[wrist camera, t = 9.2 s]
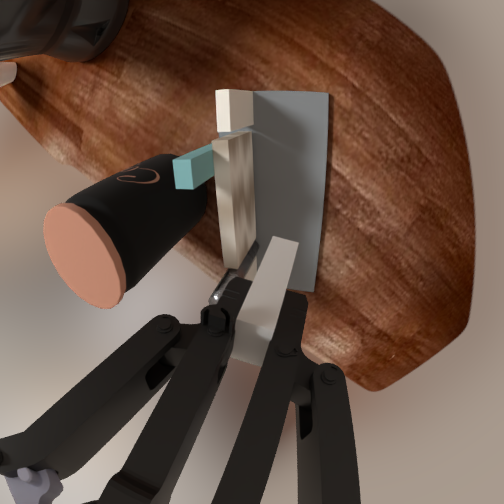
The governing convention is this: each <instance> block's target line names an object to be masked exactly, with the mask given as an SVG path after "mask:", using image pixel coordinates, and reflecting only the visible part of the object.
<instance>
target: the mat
mask: <svg viewBox="0 0 504 504" xmlns="http://www.w3.org/2000/svg"><path fill="white" fill-rule="evenodd" d="M328 99H329V93H322V92H304V91H253V120H254V125H250V126H247V127H244V128H241V129H237V130H234V131H231V132H219V138H220V137H223V136H226V135H229V134H232V133H235V132H238V131H252V149H253V172H254V195H255V219H256V239H255V241H257V242H258V244H259V250H258V252H257V254H256V256H257V271H258V269H259V267H260V264H261V262H262V260H263V258H264V255H265V253H266V251H267V249H268V246H269V244H270V242H271V239H272V237H273V236H276V237H279V238H283V239H287V240H291V241H294V242H298V243H299V244H298V248H297V252H296V255H295V259H294V263H293V267H292V270H291V274H290V278H289V281H288V285H287V289H293V290H300V291H307V292H314V286H315V279H316V271H317V263H318V254H319V246H320V236H321V226H322V216H323V204H324V192H325V178H326V161H327V140H328Z"/></svg>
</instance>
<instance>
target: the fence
mask: <svg viewBox="0 0 504 504" xmlns="http://www.w3.org/2000/svg"><path fill="white" fill-rule="evenodd" d="M216 112H217V132H231V131H234V130H237V129H241V128H244V127H247V126H250V125H254V120H253V91H245V90H234V89H224V90H216ZM256 274H257V256H255V258H254V260H253V261H252V263H251V265H250V267H249V269H248V271H247V273H246V275H245V277H244V279H247V280H251V281H253V280H254V278H255V276H256Z"/></svg>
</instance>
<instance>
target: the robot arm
mask: <svg viewBox="0 0 504 504" xmlns="http://www.w3.org/2000/svg"><path fill="white" fill-rule="evenodd" d="M128 2H129V0H0V61H4V60H8V59H13V58H19V57H25V56H31V55H38V54H45V55H49V56H52V57H55V58H58V59H61V60H64V61H67V62H85V61H88V60H91V59H93V58H95V57H96V56H98V55H99V54H100V53H101V52H103V51H104V50H105V49H106V48H107V47H108V45H109V44H110V43H111V42H112V40H113V39H114V38H115V36H116V35H117V33H118V31H119V29H120V27H121V25H122V23H123V21H124V18H125V16H126V12H127V8H128ZM298 244H299V243H298V242H294V241H291V240H287V239H283V238H279V237H276V236H273V237H272V239H271V242H270V244H269V246H268V249H267V251H266V253H265V255H264V258H263V260H262V262H261V264H260V267H259V269H258V271H257V274H256V276H255V278H254V280H253V281H251V280H247V279H244V278H240V277H237V276H236V277H235V278H233V279H232V280H230V281H229V282H228V284H227V286H226V288H225V290H224V291H223V293H222V296H221V297H220V299H219V300H218V302H217V304H213V305H209V306H206V307H204V308H203V309H202V311H201V323H199V324H180V323H179V321H178V320H177V319H176V318H175V317H174V316H171V315H167V314H162V315H158V316H156V317H154V318H153V319H152V320H150V321H149V322H148V323H147V324H146V325H145V326H143V327H142V328H141V329H140V330H139V331H138V332H136V333H135V334H134V335H133V336H132V337H131V338H129V339H128V340H127V341H126V342H125V343H124V344H122V345H121V346H120V347H119V348H118V349H117V350H115V352H113V353H112V354H111V355H110V356H109V357H108V358H107V359H105V360H104V361H103V362H102V363H101V364H99V365H98V366H97V367H96V368H95V369H94V370H93V371H91V372H90V373H89V374H88V375H87V376H86V377H85V378H84V379H82V380H81V381H80V382H79V383H78V384H77V385H75V386H74V387H73V388H72V389H71V390H70V391H69V392H68V393H66V394H65V395H64V396H63V397H62V398H61V399H60V400H59V401H57V402H56V403H55V404H54V405H53V406H52V407H51V408H50V409H49V410H47V411H46V412H45V413H44V414H43V415H42V416H41V417H40V418H38V419H37V420H36V421H35V422H34V423H33V424H32V425H31V426H30V427H28V428H27V429H26V430H25V431H24V432H21V433H18V434H15V435H12V436H8V437H5V438H1V439H0V474H1V475H4V476H5V479H6V481H7V484H8V486H9V489H10V491H11V494H12V496H13V498H14V500H15V503H16V504H52V501H53V500H54V499H55V498H56V497H57V496H59V495H60V493H61V492H62V491H63V485H62V483H61V482H60V480H62V479H65V478H67V477H69V476H71V475H72V474H74V473H75V472H77V471H78V470H79V469H80V468H82V467H83V466H84V465H85V464H86V463H87V462H88V461H89V460H90V459H91V458H92V457H93V456H94V455H95V454H96V453H97V452H98V451H99V450H100V449H101V448H102V447H103V446H104V445H105V444H106V443H107V442H108V441H110V439H111V438H112V437H113V436H115V434H116V433H117V432H118V431H120V430H121V429H122V427H124V425H126V423H128V422H129V421H130V420H131V419H132V418H133V416H134V415H135V414H136V413H137V412H138V411H139V410H140V409H141V408H142V407H143V406H144V405H145V404H146V403H147V402H148V401H149V400H150V399H151V398H152V397H153V396H154V395H155V394H156V393H157V392H158V391H159V390H160V389H161V388H162V387H163V386H164V385H165V384H166V382H168V380H169V379H170V378H171V379H170V381H169V383H168V385H167V386H166V389H165V390H164V392H163V394H162V396H161V397H160V399H159V401H158V403H157V405H156V407H155V409H154V410H153V412H152V414H151V416H150V418H149V419H148V421H147V423H146V425H145V427H144V429H143V430H142V433H141V434H140V436H139V438H138V440H137V442H136V443H135V445H134V447H133V449H132V451H131V453H130V455H129V456H128V459H127V460H126V462H125V464H124V466H123V467H122V469H121V470H120V471H119V472H118V473H117V474H115V475H113V476H112V478H111V479H110V480H109V482H108V483H107V485H106V487H105V489H104V491H103V493H102V494H101V496H100V498H99V500H94V501H90V502H87V503H83V504H169V502H170V498H171V494H172V492H173V489H174V487H175V485H176V483H177V480H178V479H179V476H180V474H181V472H182V470H183V467H184V465H185V463H186V461H187V459H188V456H189V454H190V452H191V450H192V447H193V445H194V443H195V440H196V438H197V436H198V434H199V432H200V429H201V427H202V424H203V422H204V420H205V418H206V415H207V413H208V411H209V408H210V406H211V404H212V401H213V399H214V396H215V394H216V392H217V390H218V387H219V385H220V383H221V380H222V378H223V376H224V373H225V371H226V368H227V364H228V359H229V357H230V355H231V357H232V358H235V359H238V360H241V361H244V362H247V363H251V364H254V365H257V366H261V370H260V373H259V376H258V379H257V382H256V385H255V388H254V391H253V394H252V397H251V400H250V403H249V405H248V408H247V411H246V414H245V417H244V420H243V422H242V425H241V428H240V431H239V434H238V437H237V439H236V442H235V444H234V447H233V450H232V452H231V455H230V458H229V461H228V463H227V465H226V468H225V471H224V473H223V476H222V478H221V481H220V483H219V486H218V488H217V491H216V493H215V496H214V498H213V500H212V503H211V504H260V502H261V499H262V496H263V493H264V490H265V486H266V484H267V480H268V477H269V474H270V471H271V467H272V464H273V461H274V457H275V454H276V451H277V447H278V444H279V440H280V436H281V433H282V429H283V426H284V422H285V418H286V414H287V410H288V406H289V402H290V401H292V402H294V403H295V408H296V430H297V431H296V432H297V464H298V465H297V469H298V504H361V501H360V486H359V475H358V466H357V456H356V447H355V439H354V432H353V424H352V417H351V411H350V405H349V397H348V391H347V386H346V380H345V375H344V373H343V371H342V370H341V369H340V368H339V367H338V366H336V365H335V364H331V363H323V364H320V365H318V364H316V363H315V362H313V361H311V360H310V359H308V358H307V357H306V356H305V355H304V353H303V352H302V349H301V339H302V334H303V329H304V324H305V319H306V314H307V308H308V301H307V298H306V295H303V294H299V293H295V292H292V291H288V290H286V288H287V285H288V281H289V278H290V274H291V270H292V267H293V263H294V259H295V255H296V252H297V248H298Z"/></svg>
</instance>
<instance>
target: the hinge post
mask: <svg viewBox="0 0 504 504" xmlns="http://www.w3.org/2000/svg"><path fill="white" fill-rule="evenodd" d="M258 250H259V244H258V242H257V241H254V242H253V244H252V246H251V247H250V249H249V251H248V253H247V254H246V256H245V258H244V259H243V261H242V263H241V264H240V266H239V268H238V269H233V268H228V270H227V271H226V273H225V274H224V276H223V277H222V279H221V281H220V282H219V284H218V285H217V287H216V289H215V290H214V292H213V293H212V295H211V297H210V298H209V304H210V305H213V304H217V302H218V300H219V299H220V297H221V296H222V293H223V291H224V290H225V288H226V286H227V284H228V282H229V281H230V280H232V279H233V278H235V277H236V276H237V277H240V278H244V277H245V275H246V273H247V271H248V269H249V267H250V265H251V263H252V261H253V260H254V258H255V256H256V254H257V252H258Z"/></svg>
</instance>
